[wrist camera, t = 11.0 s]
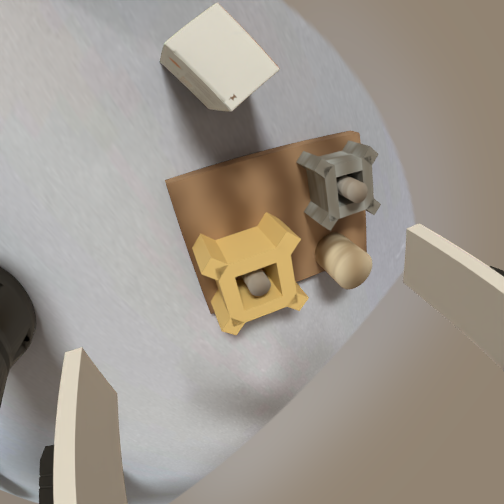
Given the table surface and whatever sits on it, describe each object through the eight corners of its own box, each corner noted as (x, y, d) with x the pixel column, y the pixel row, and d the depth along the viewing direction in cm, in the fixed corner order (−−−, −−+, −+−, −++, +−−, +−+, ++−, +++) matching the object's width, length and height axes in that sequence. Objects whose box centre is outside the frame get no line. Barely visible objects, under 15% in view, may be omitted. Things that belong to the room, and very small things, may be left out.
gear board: (207, 305, 43) (221, 344, 36) (165, 180, 34) (170, 201, 27) (359, 248, 47) (391, 273, 41) (350, 130, 38) (390, 140, 31)
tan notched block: (213, 309, 41) (224, 339, 36) (188, 237, 36) (197, 262, 31) (289, 281, 43) (309, 306, 38) (277, 208, 38) (299, 227, 33)
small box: (245, 78, 32) (283, 70, 23) (208, 111, 32) (233, 114, 23) (197, 28, 27) (218, -1, 18) (157, 61, 28) (162, 43, 19)
